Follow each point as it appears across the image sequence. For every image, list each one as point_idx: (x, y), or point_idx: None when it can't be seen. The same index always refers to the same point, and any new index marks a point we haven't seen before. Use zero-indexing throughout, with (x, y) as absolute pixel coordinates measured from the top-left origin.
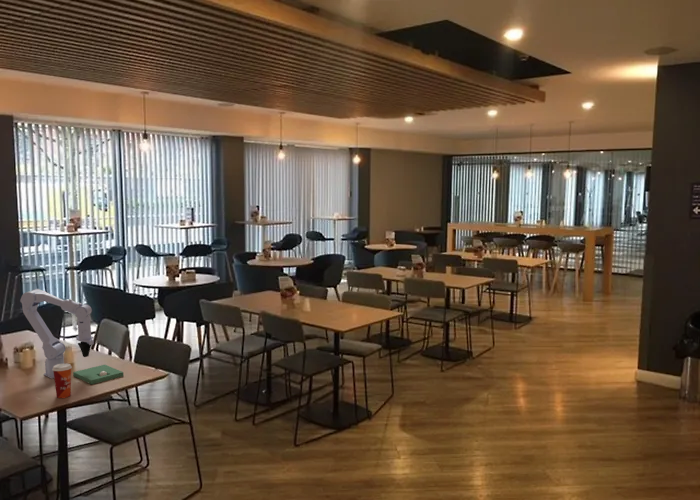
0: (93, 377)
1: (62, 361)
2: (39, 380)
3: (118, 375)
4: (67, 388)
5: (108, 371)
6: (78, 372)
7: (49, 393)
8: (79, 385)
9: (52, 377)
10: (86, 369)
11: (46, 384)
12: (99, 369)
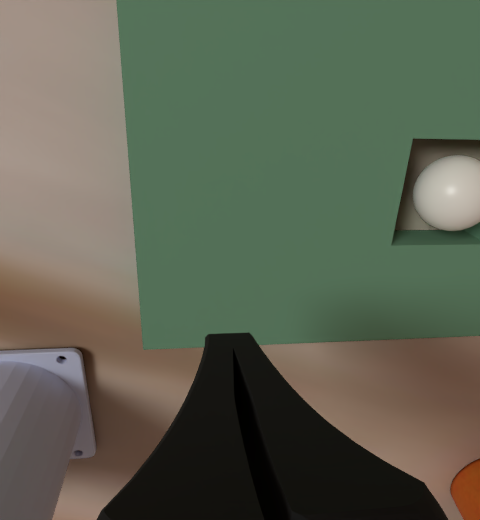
0: (448, 295)
1: (22, 490)
2: (69, 501)
3: None
4: None
5: (427, 107)
6: (196, 324)
7: None
8: (407, 373)
9: (93, 451)
10: (156, 235)
11: None
12: (274, 140)
